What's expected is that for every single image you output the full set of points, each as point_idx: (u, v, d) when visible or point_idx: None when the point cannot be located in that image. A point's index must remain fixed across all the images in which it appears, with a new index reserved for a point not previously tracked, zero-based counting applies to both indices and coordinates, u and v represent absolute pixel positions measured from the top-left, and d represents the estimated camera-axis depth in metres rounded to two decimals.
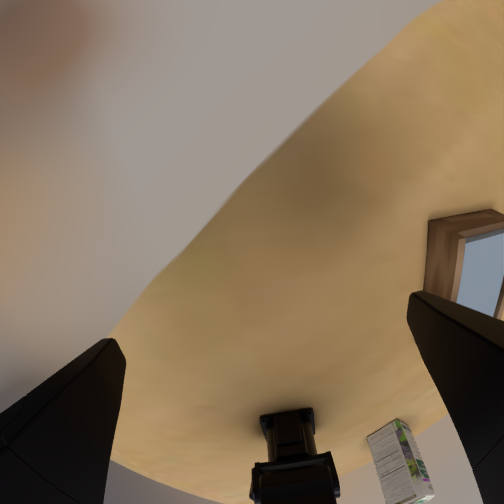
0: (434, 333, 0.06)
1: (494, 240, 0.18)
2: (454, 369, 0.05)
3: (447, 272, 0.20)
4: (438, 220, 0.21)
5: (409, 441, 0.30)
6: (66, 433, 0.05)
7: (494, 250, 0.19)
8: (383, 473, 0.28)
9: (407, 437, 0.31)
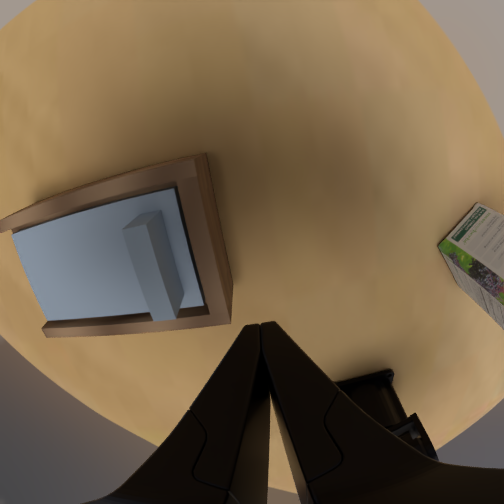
0: (266, 372, 0.06)
1: (28, 270, 0.15)
2: (277, 418, 0.05)
3: None
4: None
5: (482, 252, 0.15)
6: (255, 443, 0.04)
7: (36, 265, 0.15)
8: None
9: (474, 249, 0.16)
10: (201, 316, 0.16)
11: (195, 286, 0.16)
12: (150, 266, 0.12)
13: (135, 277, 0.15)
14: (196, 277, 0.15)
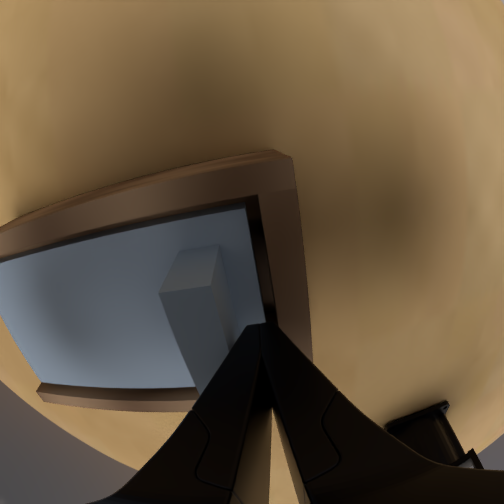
0: (265, 373, 0.06)
1: (7, 320, 0.09)
2: (275, 418, 0.05)
3: None
4: None
5: None
6: (257, 443, 0.04)
7: (16, 314, 0.09)
8: None
9: None
10: None
11: None
12: (213, 352, 0.07)
13: (170, 344, 0.10)
14: None
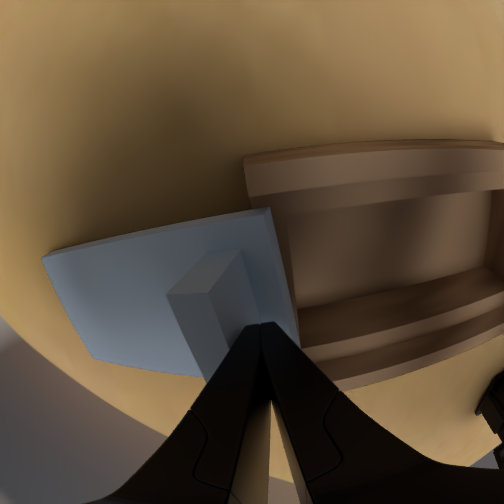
0: (266, 372, 0.06)
1: (64, 302, 0.13)
2: (276, 418, 0.05)
3: None
4: None
5: None
6: (255, 443, 0.04)
7: (72, 298, 0.12)
8: None
9: None
10: None
11: None
12: (217, 353, 0.07)
13: None
14: None
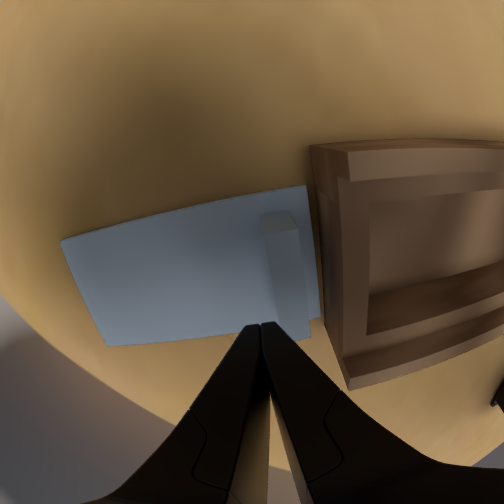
0: (266, 372, 0.06)
1: (84, 287, 0.13)
2: (277, 418, 0.05)
3: None
4: (326, 317, 0.14)
5: None
6: (255, 443, 0.04)
7: (96, 280, 0.13)
8: None
9: None
10: None
11: (315, 297, 0.14)
12: (294, 278, 0.10)
13: (244, 291, 0.13)
14: (317, 286, 0.14)
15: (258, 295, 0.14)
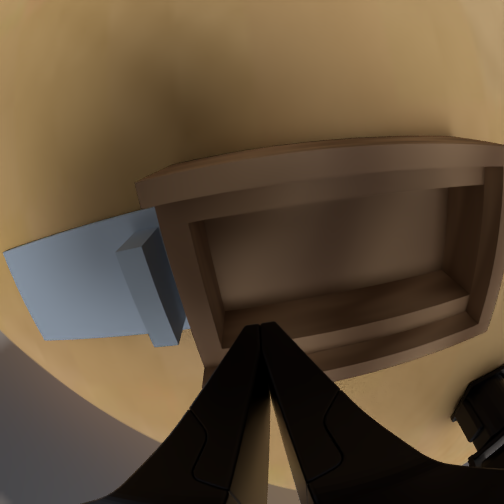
0: (266, 372, 0.06)
1: (22, 289, 0.14)
2: (277, 418, 0.05)
3: None
4: None
5: None
6: (255, 444, 0.04)
7: (30, 284, 0.14)
8: None
9: None
10: (471, 327, 0.10)
11: None
12: (148, 290, 0.11)
13: None
14: None
15: None
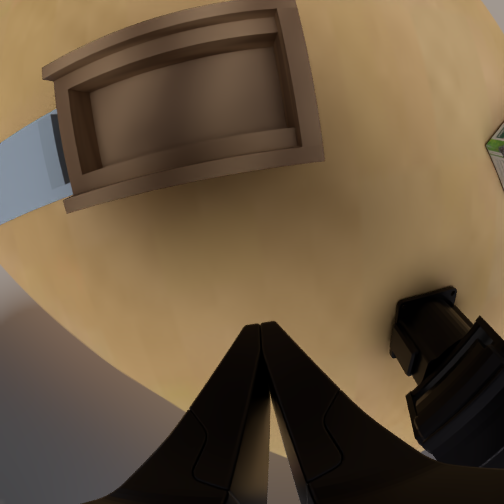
0: (266, 372, 0.06)
1: None
2: (277, 418, 0.05)
3: None
4: None
5: None
6: (255, 443, 0.04)
7: None
8: None
9: None
10: (292, 149, 0.13)
11: None
12: (50, 143, 0.14)
13: None
14: None
15: None
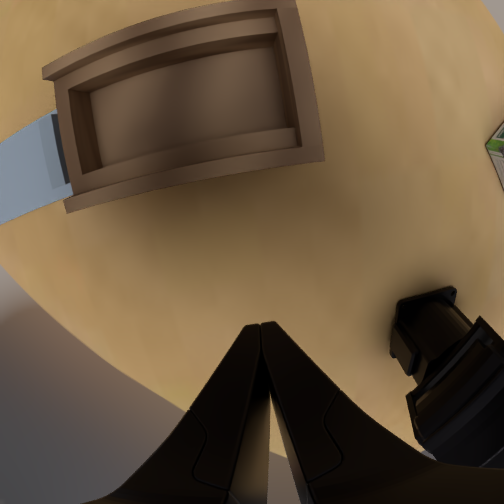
0: (266, 372, 0.06)
1: None
2: (277, 418, 0.05)
3: None
4: None
5: None
6: (255, 443, 0.04)
7: None
8: None
9: None
10: (292, 149, 0.13)
11: None
12: (51, 143, 0.14)
13: None
14: None
15: None
